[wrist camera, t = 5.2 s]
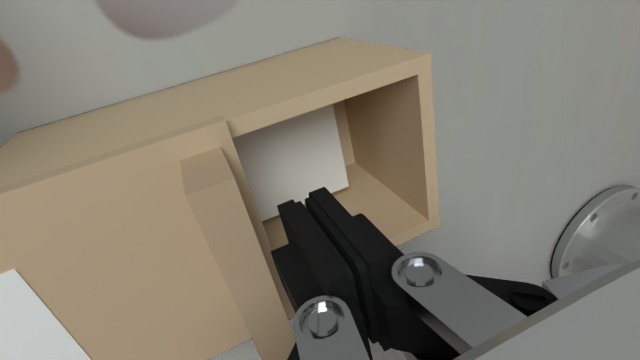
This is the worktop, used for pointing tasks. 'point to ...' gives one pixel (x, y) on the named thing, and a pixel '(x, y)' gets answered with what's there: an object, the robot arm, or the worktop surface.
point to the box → (286, 132)
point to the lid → (140, 257)
